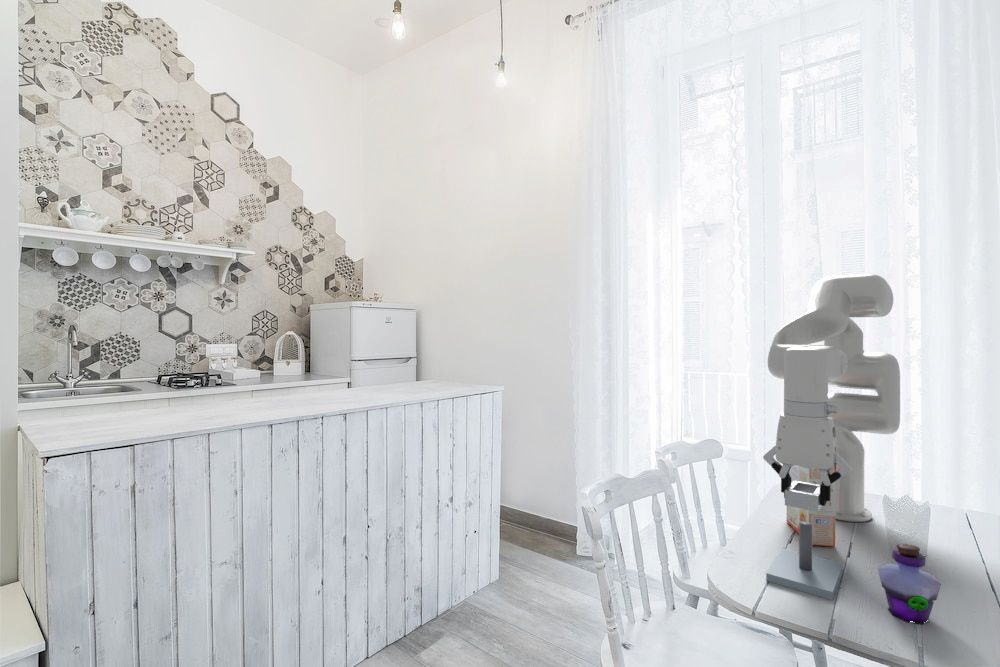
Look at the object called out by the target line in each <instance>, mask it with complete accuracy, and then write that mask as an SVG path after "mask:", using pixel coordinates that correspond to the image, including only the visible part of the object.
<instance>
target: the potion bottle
mask: <svg viewBox="0 0 1000 667" xmlns="http://www.w3.org/2000/svg"><path fill="white" fill-rule="evenodd" d="M920 551H921V549H920V548H919V546H916V545H912V544H908V543H897V544H896V548H895V549H893V550H892V552H891V554H892V556H891V558H892V559H893V560H894V561H895V563H897V564H895V563H894V564H893V563H886V564H884V565H881V566H879V567H877V571H878V575H879V580H880V583H881V586H882V588H883V589H884V594H885V597H886V600H887V604H888V608H887V610H888V612H889V613H890V614H891V616H893V617H895V618H897V619H899V620H900V621H901V620H902V621H903V622H906V623H909V622H910V621H913V622H915V623H914V624H917V625H925V624H924V622H926V621H927V620H929V619H930V616H931V613H932V609H933V605H934V603H935V602H934V601H937V600H938V597H939V594H940V590H941V588H942V583H941V582H940V581H939V580H938V579H937V577H935V576H934V575H933V574H932V573H929V572H927V571H923V570H922V569H920V568H922V567H924V566H926V557H925V556H924V555H923V554H922V553H920Z"/></svg>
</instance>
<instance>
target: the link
mask: <svg viewBox="0 0 1000 667" xmlns="http://www.w3.org/2000/svg"><path fill="white" fill-rule="evenodd" d="M784 506H786V507H787V506H791V507H796V508H801V509H806V510H811V511H816V512H818V511H819V510H820V508H821V506H822V505H821V504H820V485H818V484H812V483H806V482H800V481H794V480H793V482H792V483H791V484H790V485H789V486H788V487H787V488H786V489H785V498H784Z"/></svg>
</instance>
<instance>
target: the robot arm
mask: <svg viewBox="0 0 1000 667" xmlns="http://www.w3.org/2000/svg"><path fill="white" fill-rule="evenodd" d="M893 306H894V294H893V290H892V287H891V285H889V283H888V282H887V280H886V279H885V278H884V277H882V276H880V275H878V274H874V273H873V274H872V273H863V274H860V273H859V274H849V275H848V274H847V275H832V276H826V277H823V278H822V279H820V280H818V281H816V283H815V284H814V285H813V287H812V290H811V292H810V295H809V300H808V303H807V307H806V309H805V313H804V314H801V315H800V316H798V317H796V318H794V319H793V320H791V321H789V322H788V323H785V325H783V326H782V327H780V328H779V329H778V331H777V332H776V333H775V335H774V337H773V340H772V342H771V345H770V348H769V351H768V356H767V368H768V371H769V372H770V374H771V375H772V376H773V377H775V378H777V379H781V380H783V413H780V415H779V419H778V424H777V431H776V439H775V440H776V441H775V445H774V446H773V447H772V448H771V449H769V450H768V451H767V452H766V453H765V454H764V455H763V456H762V458H763V460H764V461H765V462H766V463H767V464H769V465H770V466H771V468H772V469H773V470H774V471H775V473H776V474H777V475H778V476H779V478H780V492H781V493H783V498H784V499H785V489H786V488H787V487H788V486H789V485H790V484H791V477H790V474H789V471H790V469H791V466H797V467H803V468H810V469H816V470H819V473H820V476H821V478H822V484H821V485H820V504H821V505H822V506H825V504H826V503H827V501H830V497H831V484H832V483H833V482H835V481H836V504H835V520H839V521H845V522H854V523H855V522H856V523H858V522H867V521H870V520H871V519H872V517H873V515H872V512H871V511H870V510H869V509H868V508H865V448H864V445H863V443H862V442H861V441H860V439H859V438H858V436H856V435H855V434H854V432H860V433H870V434H878V435H893V434H895V433H896V432H897V431H898V430H899V427H900V424H901V371H900V365H899V364H900V363H899V362H898V359H897V358H896V357H895V356H894V355H893V354H890V353H887V352H873V351H872V352H871V351H870V352H867V351H864V333H863V330H862V329H861V328H860V326H859V325H858V324H857V323H856V322H855V320H853V319H852V318H882V317H886V316H887V315H889V314H890V312H891V311H892V309H893ZM819 342H823V344H824V345H822V344H821V345H819V344H816V343H819ZM829 386H831V387H835V388H842V389H855V390H856V389H857V390H858V389H859V390H871V391H875V393H877V395H875V394H874V395H872V394H859V393H849V392H848V393H847V392H829ZM834 465H836V471H835V472H834V473H832V474H830V471H829V470H831V469H833V467H834Z"/></svg>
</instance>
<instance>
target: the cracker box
mask: <svg viewBox="0 0 1000 667" xmlns="http://www.w3.org/2000/svg"><path fill="white" fill-rule="evenodd" d="M829 471H830V474H832V473H834V472H835V471H836V465H834V467H833V469H831V470H829ZM789 474H790V477H791V483H792V482H793V480H794V481H800V482H806V483H812V484H818V485H821V484H822V478H821V476H820V473H819V470H816V469H810V468H803V467H797V466H791V469H790V471H789ZM835 504H836V481H835V482H833V483H832V484H831V497H830V501H827V503H826V504H825V506H821V508H820V510H819V511H818V512H816V511H811V510H806V509H801V508H796V507H791V506H786V522H787V523H788V525H789V524H790V525H791V526H790V525H789V526H790V527H791V528H792V529H793V530H794V531H795V532H796V533H797V534H798V535H799V522H808V523H811V524H812V546H818V547H819V546H821V547H831V548H832V547H833V548H835V547H836V519H835Z"/></svg>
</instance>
